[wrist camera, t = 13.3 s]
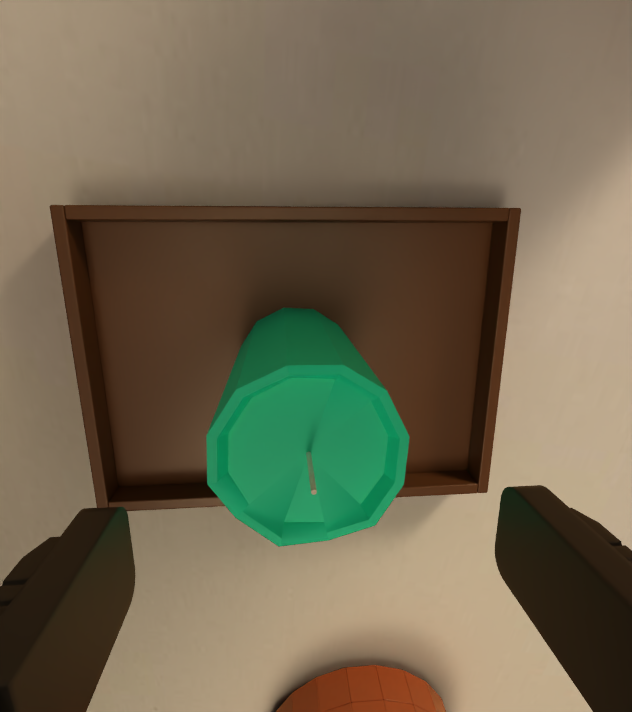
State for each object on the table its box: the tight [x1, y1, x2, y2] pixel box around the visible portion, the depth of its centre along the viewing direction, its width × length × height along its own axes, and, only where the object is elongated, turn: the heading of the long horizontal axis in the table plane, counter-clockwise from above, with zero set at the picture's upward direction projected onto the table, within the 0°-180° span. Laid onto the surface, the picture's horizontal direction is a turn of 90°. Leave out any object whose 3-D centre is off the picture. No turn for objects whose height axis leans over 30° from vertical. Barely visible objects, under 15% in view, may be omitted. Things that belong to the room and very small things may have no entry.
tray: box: [50, 205, 521, 511], centre depth 22 cm, size 21×15×2 cm
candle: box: [206, 308, 410, 546], centre depth 16 cm, size 6×6×12 cm
